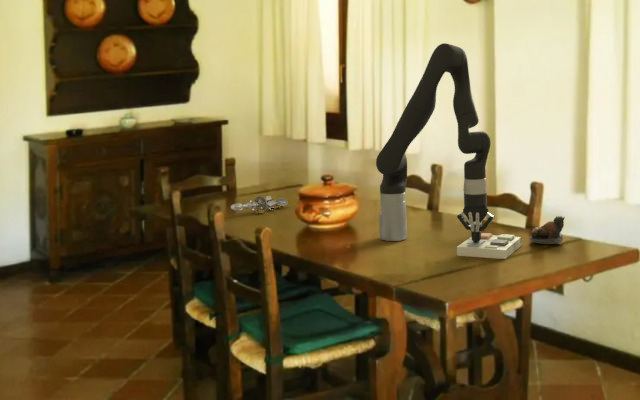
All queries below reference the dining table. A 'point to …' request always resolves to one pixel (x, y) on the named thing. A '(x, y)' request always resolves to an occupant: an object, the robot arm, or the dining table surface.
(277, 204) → the spaceship
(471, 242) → the key slate
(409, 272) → the dining table surface
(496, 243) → the key charcoal
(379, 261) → the dining table surface
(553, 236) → the brown cat figurine
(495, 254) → the keypad
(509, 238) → the key sage
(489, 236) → the key terracotta
